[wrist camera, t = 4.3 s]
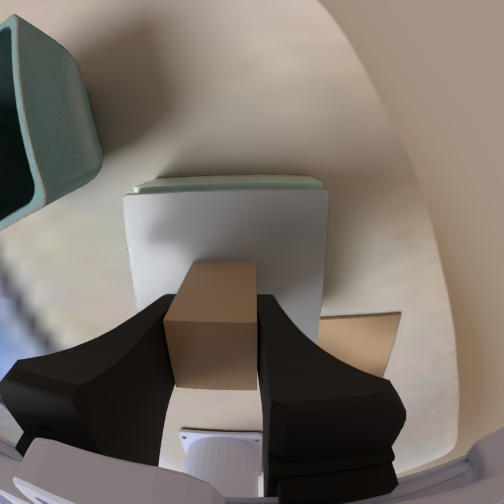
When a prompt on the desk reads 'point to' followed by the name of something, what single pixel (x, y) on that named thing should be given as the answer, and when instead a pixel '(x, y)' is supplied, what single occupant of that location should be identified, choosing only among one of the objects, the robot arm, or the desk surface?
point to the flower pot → (41, 122)
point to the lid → (226, 272)
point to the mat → (360, 340)
